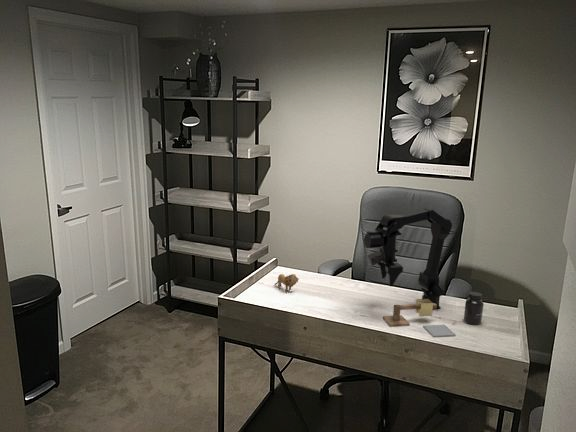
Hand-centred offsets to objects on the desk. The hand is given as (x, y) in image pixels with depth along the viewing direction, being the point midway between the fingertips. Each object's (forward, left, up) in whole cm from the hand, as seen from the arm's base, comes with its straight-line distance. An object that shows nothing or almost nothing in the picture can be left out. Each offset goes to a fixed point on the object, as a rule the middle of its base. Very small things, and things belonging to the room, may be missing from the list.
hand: (387, 282), depth 198 cm
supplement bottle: (-32, +13, -14) cm, 38 cm away
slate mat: (-14, +20, -13) cm, 28 cm away
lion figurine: (+37, -30, -14) cm, 50 cm away
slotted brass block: (-12, +10, -10) cm, 19 cm away
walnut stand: (-7, +10, -13) cm, 18 cm away
